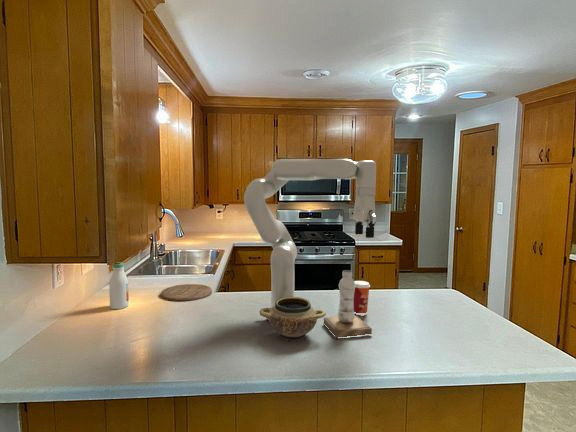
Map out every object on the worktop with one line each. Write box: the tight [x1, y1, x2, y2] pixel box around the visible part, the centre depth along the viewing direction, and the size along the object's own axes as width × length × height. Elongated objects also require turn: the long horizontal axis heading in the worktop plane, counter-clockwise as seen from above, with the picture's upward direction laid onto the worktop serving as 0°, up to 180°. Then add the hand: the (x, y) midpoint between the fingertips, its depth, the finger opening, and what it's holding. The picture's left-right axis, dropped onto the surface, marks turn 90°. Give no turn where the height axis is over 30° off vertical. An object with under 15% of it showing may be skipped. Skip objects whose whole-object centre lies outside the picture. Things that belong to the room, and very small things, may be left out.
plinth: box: [323, 314, 373, 338], centre depth 141 cm, size 14×14×3 cm
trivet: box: [160, 283, 213, 302], centre depth 186 cm, size 25×25×2 cm
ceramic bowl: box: [259, 296, 327, 341], centre depth 135 cm, size 24×18×15 cm
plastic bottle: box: [337, 269, 355, 323], centre depth 140 cm, size 6×7×20 cm
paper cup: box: [353, 280, 371, 313], centre depth 159 cm, size 8×8×14 cm
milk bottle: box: [108, 262, 130, 310], centre depth 164 cm, size 8×8×20 cm
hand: (364, 235), depth 144 cm, fingers open, 9 cm apart
